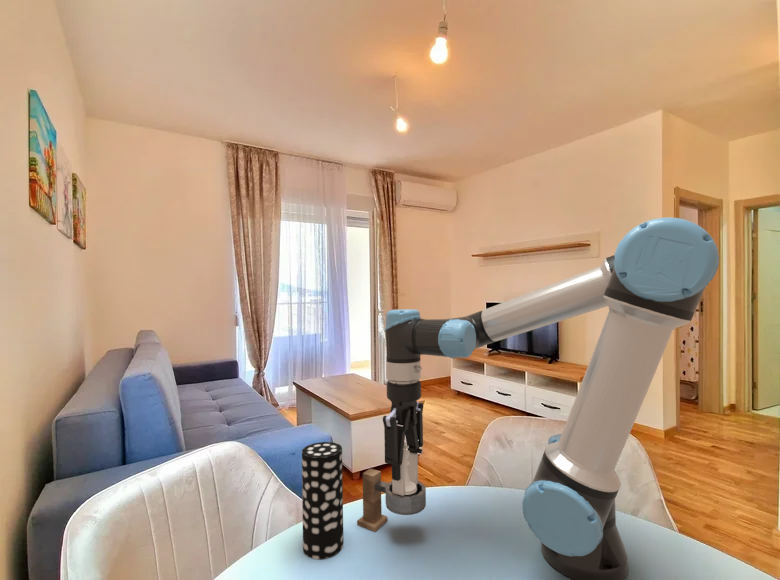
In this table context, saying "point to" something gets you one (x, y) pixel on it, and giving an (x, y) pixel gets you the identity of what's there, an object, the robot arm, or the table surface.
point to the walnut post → (371, 502)
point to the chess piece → (409, 485)
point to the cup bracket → (403, 499)
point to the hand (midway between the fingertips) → (405, 487)
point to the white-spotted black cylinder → (322, 500)
